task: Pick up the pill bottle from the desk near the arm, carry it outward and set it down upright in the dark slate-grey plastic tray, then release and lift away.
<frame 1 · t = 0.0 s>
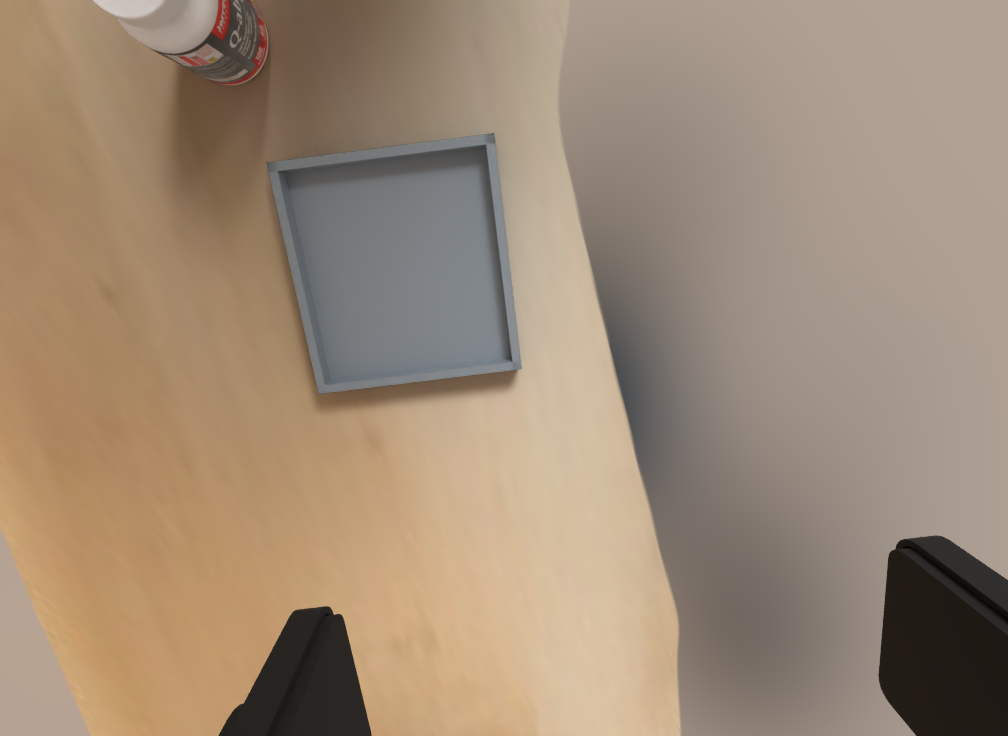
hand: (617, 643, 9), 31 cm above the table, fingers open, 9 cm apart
slate tray: (405, 269, 38), on the table
pill bottle: (228, 40, 34), on the table
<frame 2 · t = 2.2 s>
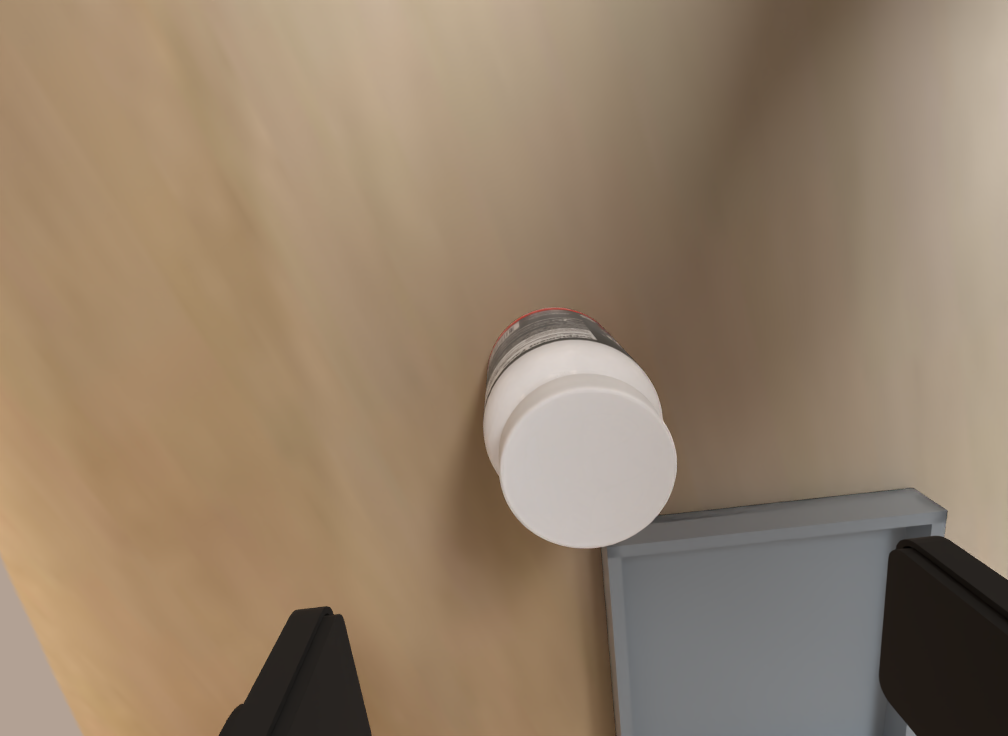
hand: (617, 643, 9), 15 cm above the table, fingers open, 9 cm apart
slate tray: (752, 639, 27), on the table
pill bottle: (551, 367, 23), on the table
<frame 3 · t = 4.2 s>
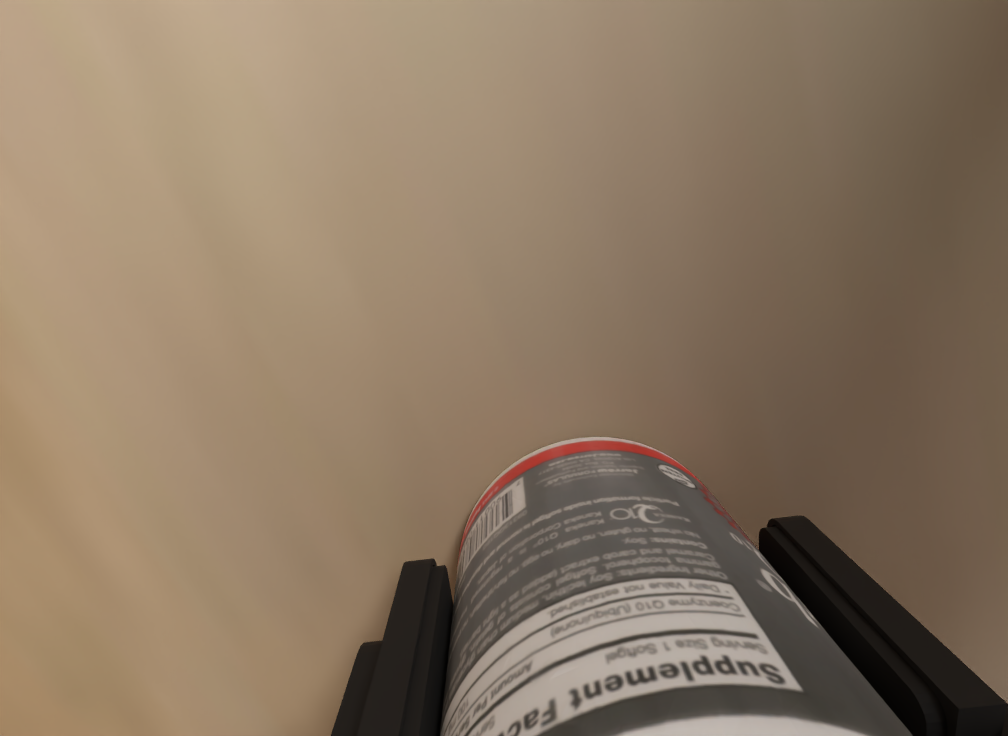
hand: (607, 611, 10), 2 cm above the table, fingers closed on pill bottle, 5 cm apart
pill bottle: (586, 541, 12), on the table, touching gripper
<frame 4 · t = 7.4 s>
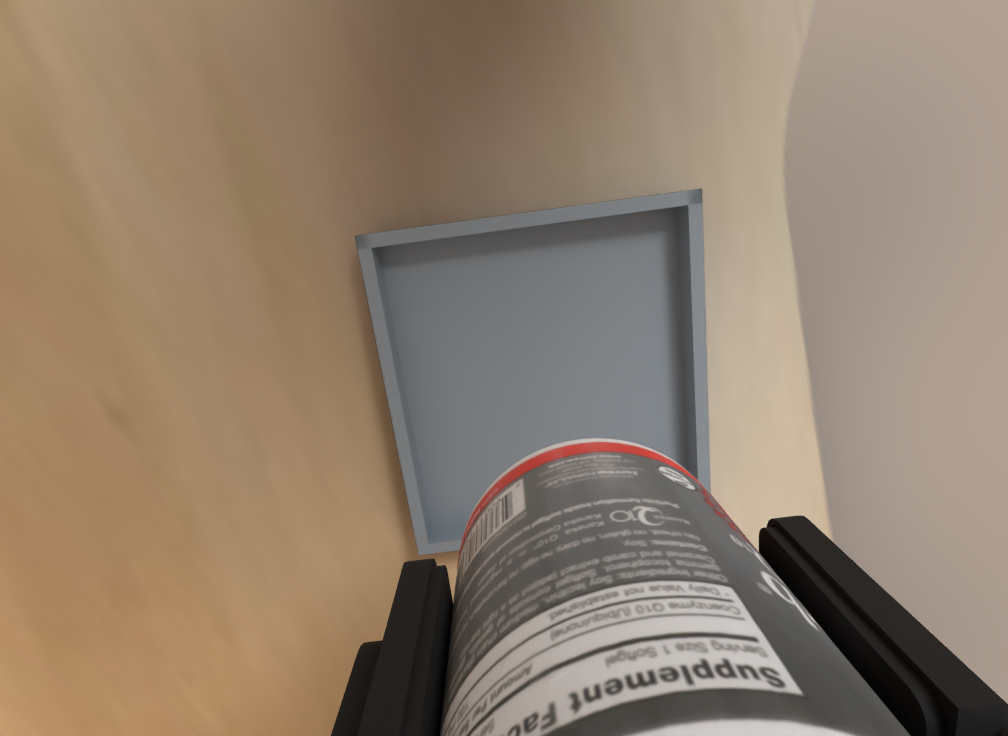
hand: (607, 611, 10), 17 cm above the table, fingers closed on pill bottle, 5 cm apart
slate tray: (543, 376, 26), on the table
pill bottle: (586, 542, 12), point 15 cm above the table, touching gripper
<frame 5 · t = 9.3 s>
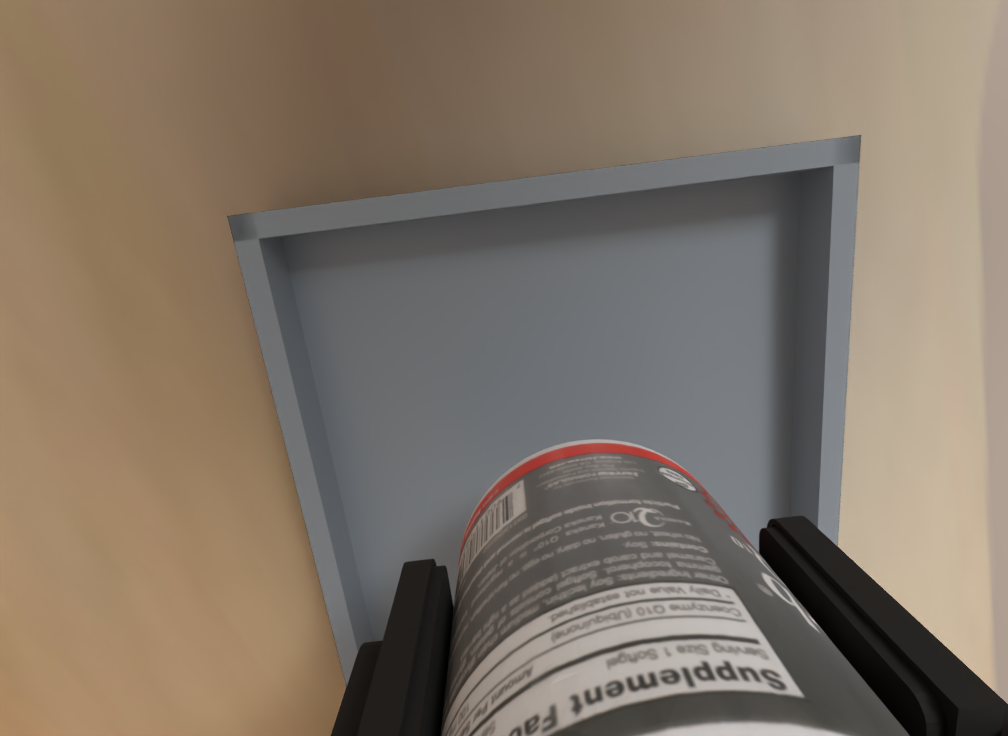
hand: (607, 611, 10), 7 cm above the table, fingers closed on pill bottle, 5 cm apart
slate tray: (561, 451, 16), on the table
pill bottle: (586, 543, 12), point 5 cm above the table, touching gripper
when the fingers open (4 cm above the table, at t = 10.7 s): pill bottle drops 2 cm, resting on slate tray.
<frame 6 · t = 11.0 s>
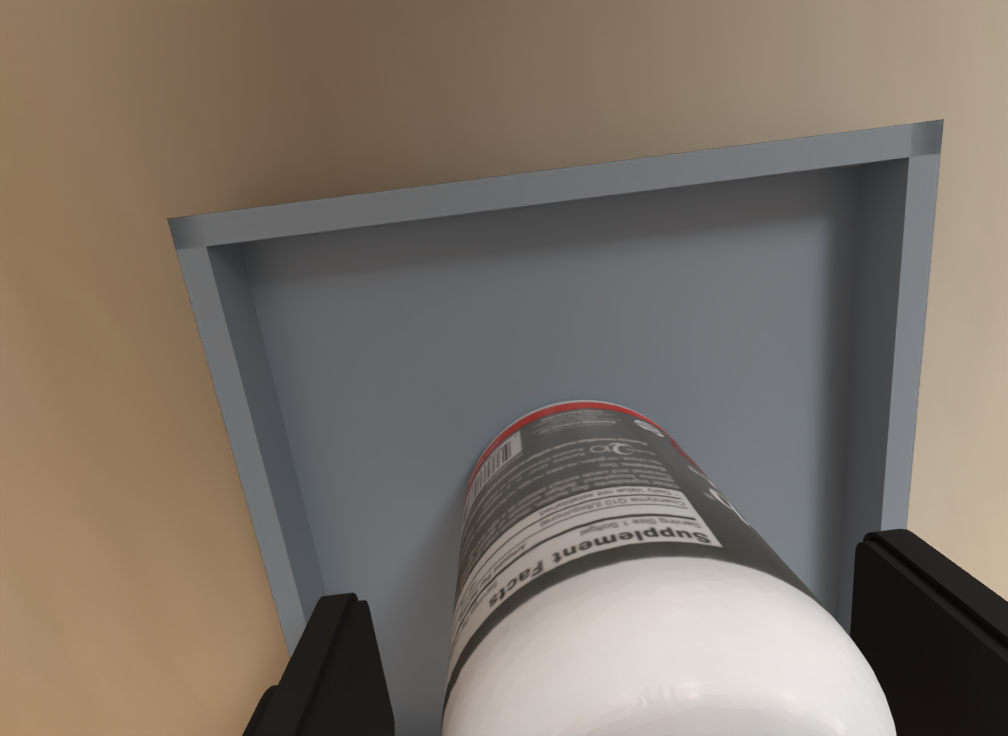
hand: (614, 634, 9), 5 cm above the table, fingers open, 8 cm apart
slate tray: (572, 492, 14), on the table
pill bottle: (575, 494, 14), resting on slate tray
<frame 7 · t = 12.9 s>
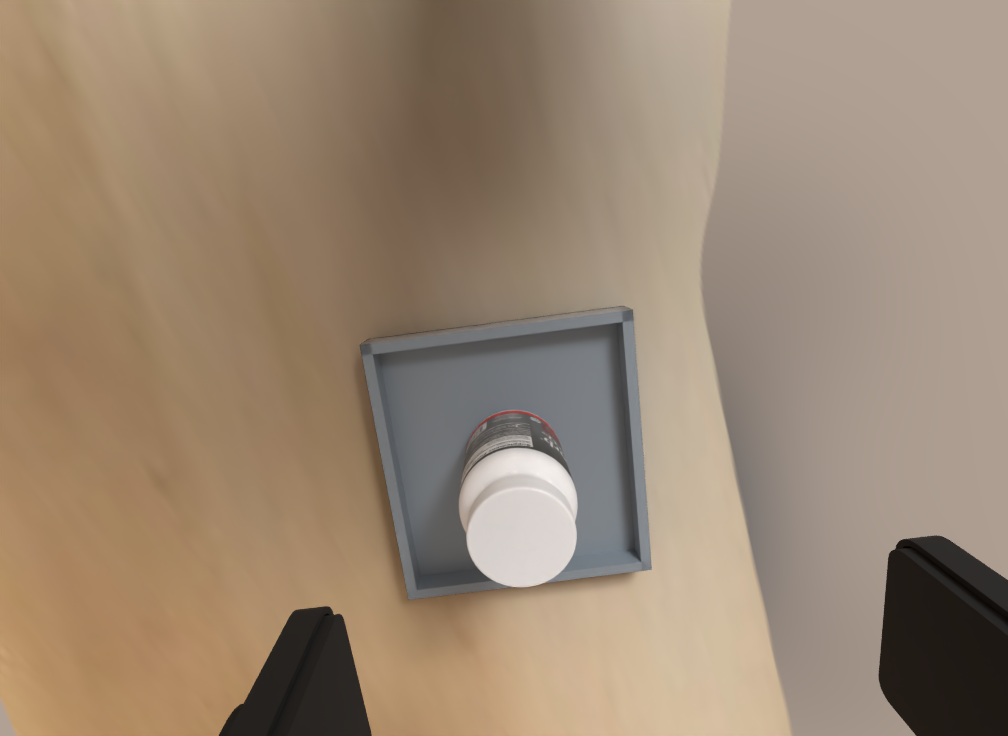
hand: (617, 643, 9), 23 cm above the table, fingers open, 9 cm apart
slate tray: (512, 450, 32), on the table
pill bottle: (513, 450, 32), resting on slate tray
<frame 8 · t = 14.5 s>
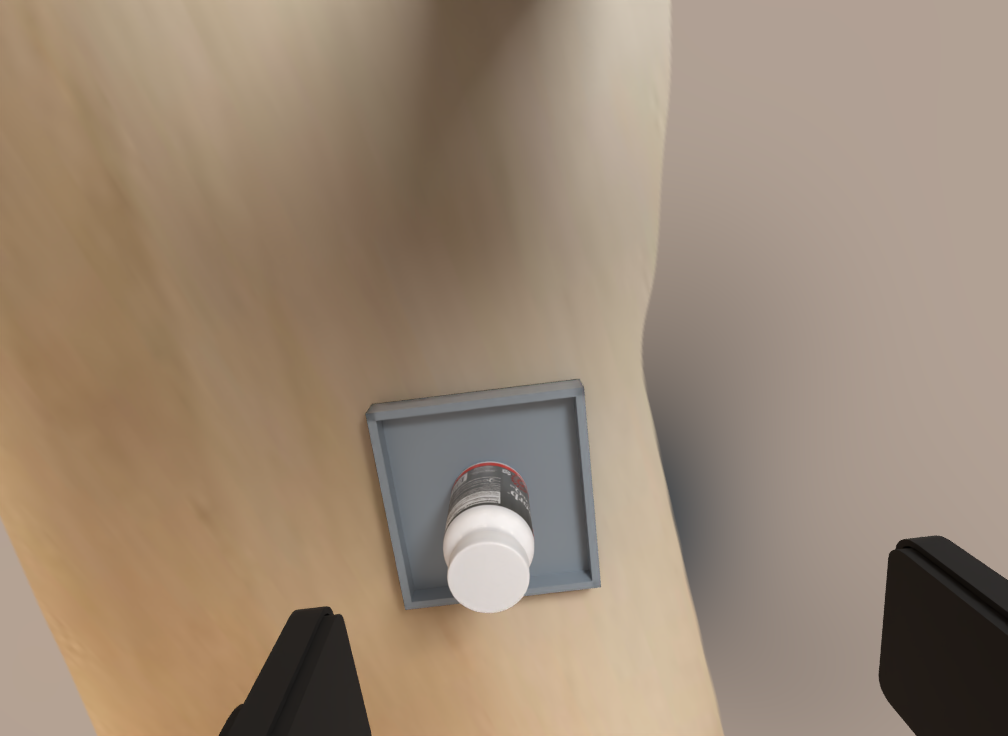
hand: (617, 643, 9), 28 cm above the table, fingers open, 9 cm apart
slate tray: (489, 491, 39), on the table
pill bottle: (489, 492, 39), resting on slate tray
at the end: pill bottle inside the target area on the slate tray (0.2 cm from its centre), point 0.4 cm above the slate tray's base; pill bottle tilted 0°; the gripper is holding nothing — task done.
